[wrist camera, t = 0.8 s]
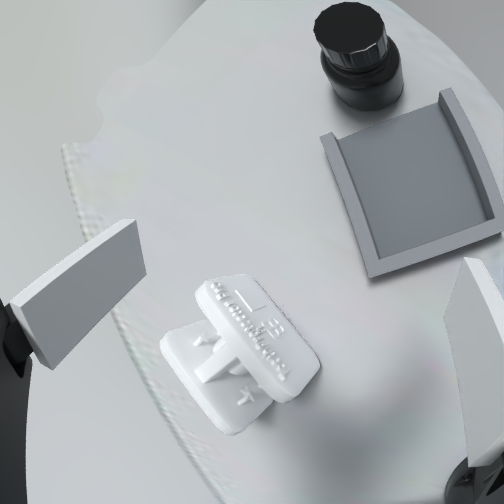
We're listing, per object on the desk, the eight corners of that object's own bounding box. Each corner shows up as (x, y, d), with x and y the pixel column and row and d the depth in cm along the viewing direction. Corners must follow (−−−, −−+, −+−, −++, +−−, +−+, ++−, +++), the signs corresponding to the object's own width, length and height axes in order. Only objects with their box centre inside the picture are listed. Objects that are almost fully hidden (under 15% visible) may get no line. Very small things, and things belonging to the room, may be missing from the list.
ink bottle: (380, 42, 32) (362, -18, 21) (419, 91, 30) (418, 35, 20) (319, 74, 36) (283, 23, 25) (353, 126, 35) (328, 81, 24)
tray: (501, 229, 27) (510, 228, 24) (372, 275, 34) (369, 278, 31) (448, 100, 29) (450, 87, 26) (327, 145, 36) (319, 137, 33)
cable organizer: (205, 317, 45) (148, 335, 35) (254, 268, 41) (199, 277, 31) (271, 400, 41) (226, 442, 30) (329, 360, 37) (297, 401, 27)
